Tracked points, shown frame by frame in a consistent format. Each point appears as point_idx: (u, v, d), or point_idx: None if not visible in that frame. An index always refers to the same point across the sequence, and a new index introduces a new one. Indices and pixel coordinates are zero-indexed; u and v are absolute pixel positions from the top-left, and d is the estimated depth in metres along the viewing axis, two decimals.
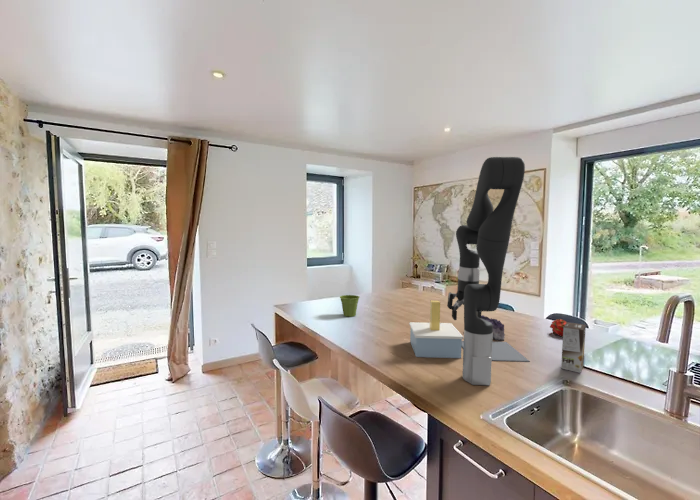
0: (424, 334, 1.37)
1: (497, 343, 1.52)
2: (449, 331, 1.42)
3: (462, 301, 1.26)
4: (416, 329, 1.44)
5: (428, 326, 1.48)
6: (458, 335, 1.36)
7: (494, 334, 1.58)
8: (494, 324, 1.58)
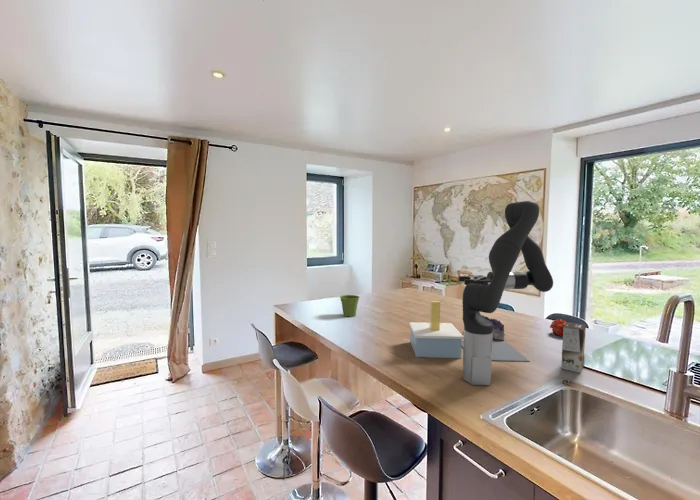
0: (424, 334, 1.37)
1: (497, 343, 1.52)
2: (449, 331, 1.42)
3: (478, 275, 1.44)
4: (416, 329, 1.44)
5: (428, 326, 1.48)
6: (458, 335, 1.36)
7: (494, 334, 1.58)
8: (494, 324, 1.58)
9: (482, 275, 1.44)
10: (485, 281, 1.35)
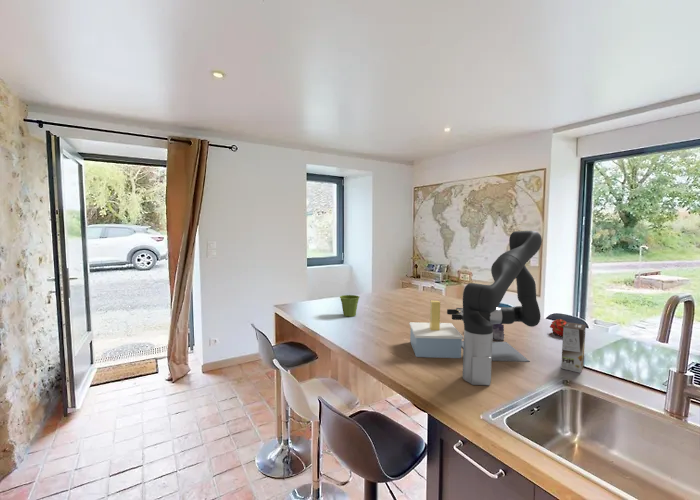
0: (424, 334, 1.37)
1: (497, 343, 1.52)
2: (449, 331, 1.42)
3: None
4: (416, 329, 1.44)
5: (428, 326, 1.48)
6: (458, 335, 1.36)
7: (493, 335, 1.58)
8: (494, 324, 1.58)
9: None
10: None
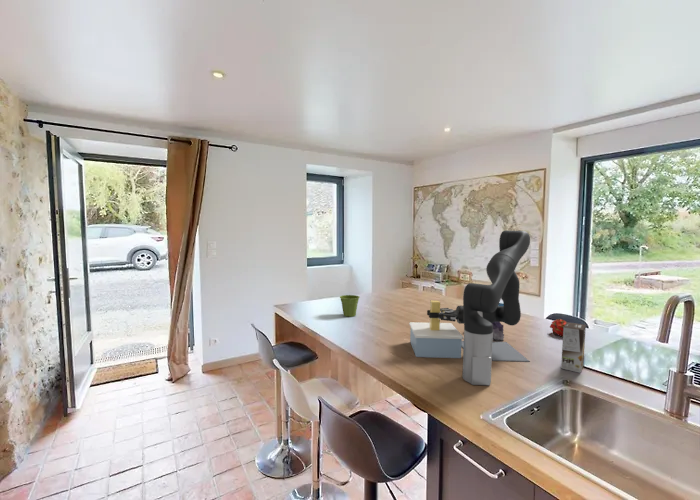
0: (424, 334, 1.37)
1: (497, 343, 1.52)
2: (449, 331, 1.42)
3: (447, 309, 1.45)
4: (416, 329, 1.44)
5: (428, 326, 1.48)
6: (458, 335, 1.36)
7: (493, 335, 1.58)
8: (493, 324, 1.58)
9: (451, 309, 1.45)
10: (447, 315, 1.38)
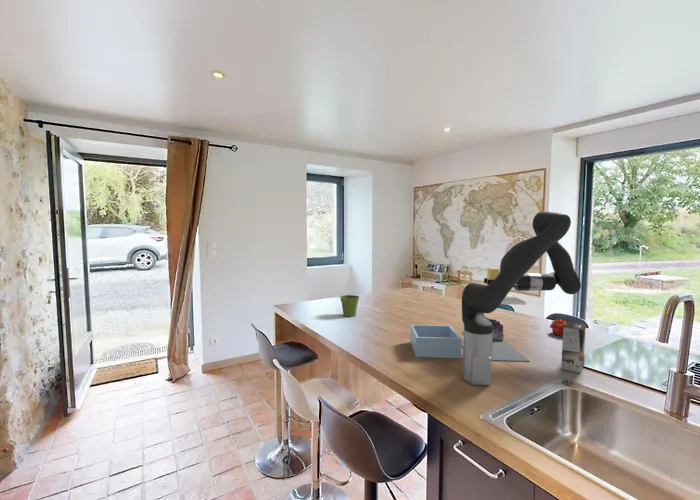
0: None
1: (497, 343, 1.52)
2: (509, 298, 1.40)
3: None
4: None
5: None
6: (520, 301, 1.34)
7: (493, 335, 1.57)
8: (493, 325, 1.58)
9: None
10: None
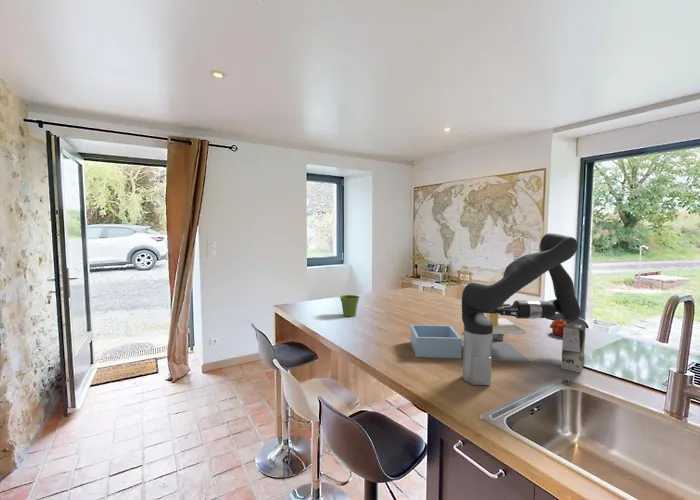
0: None
1: (497, 343, 1.52)
2: (508, 326, 1.40)
3: (504, 304, 1.44)
4: None
5: None
6: (520, 330, 1.35)
7: (493, 335, 1.57)
8: None
9: (508, 304, 1.44)
10: (508, 310, 1.37)
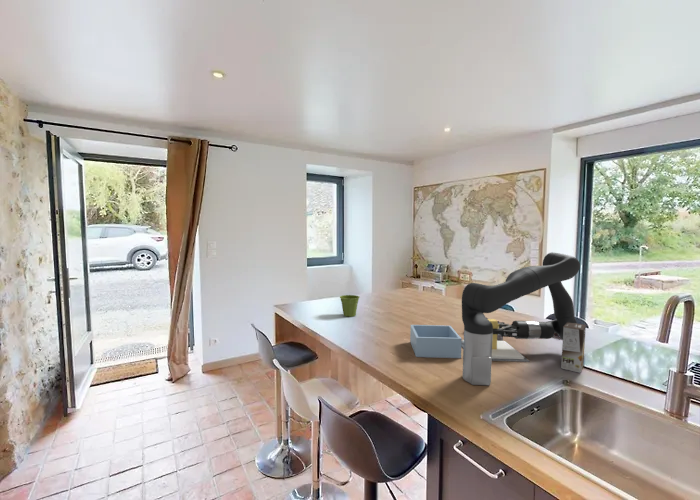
0: None
1: None
2: (507, 350, 1.41)
3: (503, 324, 1.45)
4: None
5: None
6: (518, 355, 1.35)
7: None
8: None
9: (507, 324, 1.44)
10: (509, 332, 1.37)
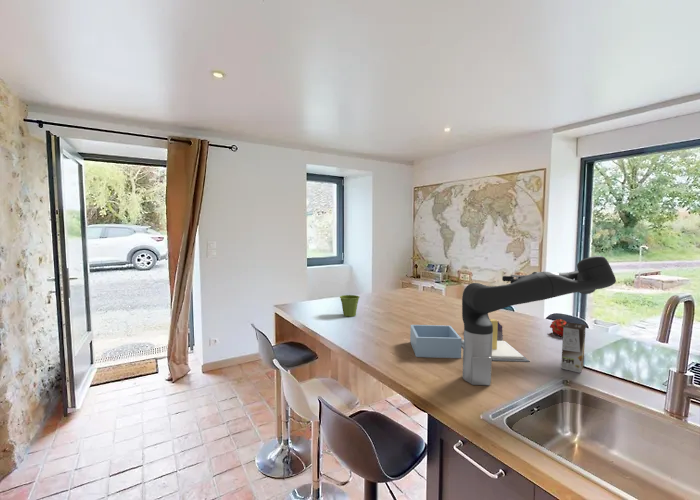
0: None
1: None
2: (507, 350, 1.41)
3: (522, 275, 1.48)
4: None
5: None
6: (518, 355, 1.35)
7: None
8: None
9: None
10: None
